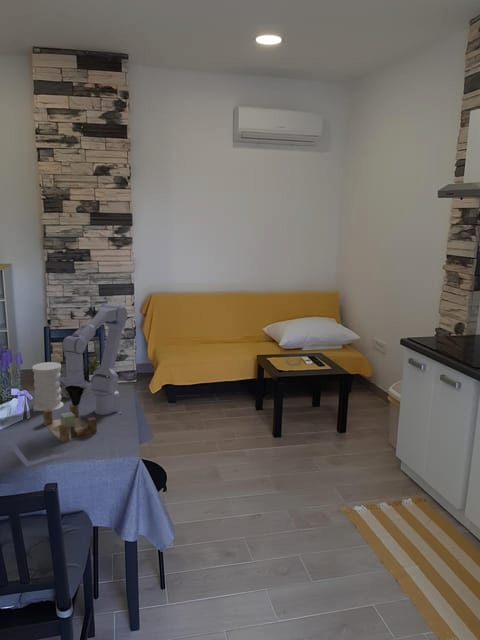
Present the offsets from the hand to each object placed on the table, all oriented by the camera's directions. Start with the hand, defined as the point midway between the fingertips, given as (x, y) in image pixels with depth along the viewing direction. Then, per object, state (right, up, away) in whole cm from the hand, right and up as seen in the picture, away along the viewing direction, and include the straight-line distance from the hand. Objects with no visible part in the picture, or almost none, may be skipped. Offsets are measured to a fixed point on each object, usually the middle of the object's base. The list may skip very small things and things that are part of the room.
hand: (76, 404), depth 181 cm
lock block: (-4, -8, +3) cm, 10 cm away
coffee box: (-14, -2, +38) cm, 40 cm away
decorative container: (-18, -5, +21) cm, 29 cm away
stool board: (-3, -10, +1) cm, 10 cm away
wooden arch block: (+5, -9, -4) cm, 11 cm away
